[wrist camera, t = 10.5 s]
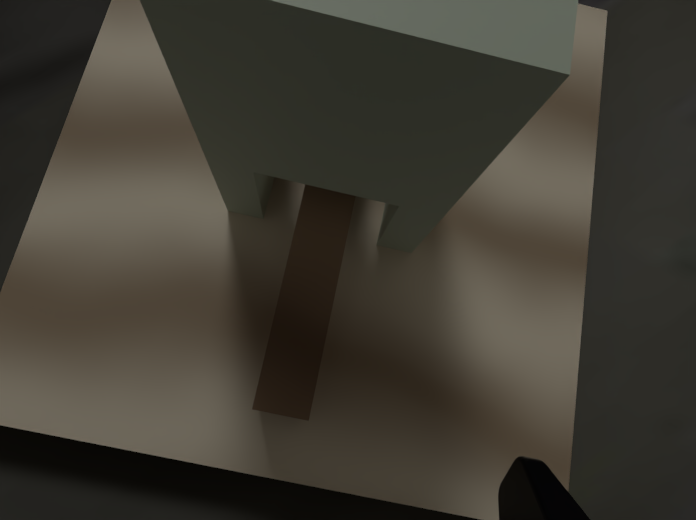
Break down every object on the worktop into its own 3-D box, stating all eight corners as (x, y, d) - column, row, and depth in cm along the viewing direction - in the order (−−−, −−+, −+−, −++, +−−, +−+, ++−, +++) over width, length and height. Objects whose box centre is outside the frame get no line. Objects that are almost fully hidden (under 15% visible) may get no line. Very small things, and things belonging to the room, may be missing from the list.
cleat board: (542, 522, 17) (602, 558, 14) (-17, 413, 16) (-99, 421, 13) (587, 35, 22) (639, -28, 19) (160, -70, 21) (134, -155, 18)
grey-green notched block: (411, 252, 17) (570, 74, 7) (227, 210, 17) (124, -37, 7) (430, 150, 18) (593, -133, 8) (256, 108, 18) (204, -237, 8)
